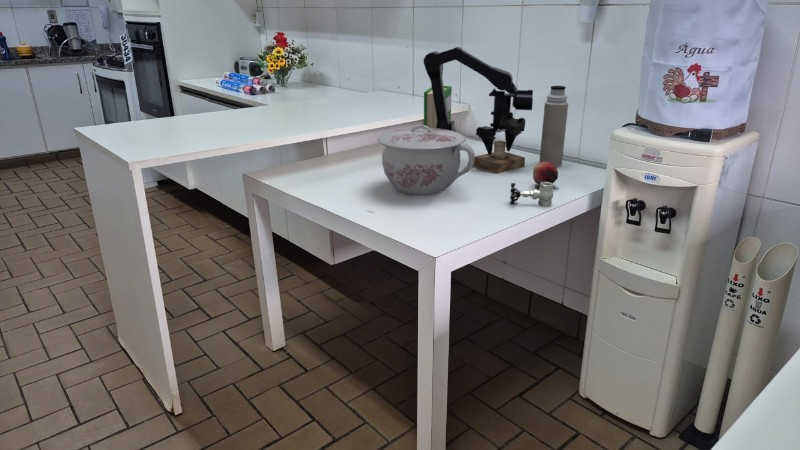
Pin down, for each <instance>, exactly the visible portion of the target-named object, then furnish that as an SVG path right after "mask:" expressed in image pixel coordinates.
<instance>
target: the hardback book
mask: <svg viewBox="0 0 800 450" xmlns="http://www.w3.org/2000/svg"><path fill="white" fill-rule="evenodd" d="M443 86H444V92H445V99H446V105H447V111H448V117H449V119H450V121H451V120H452V93H453V92H452V88H453V86H451V85H443ZM423 125H425V126H427V127H429V128H436V126H437V116H436V110H435V104H434V98H433V92H432V86H431V87H429V88H428V89H427V90H425V91H424V92H423Z"/></svg>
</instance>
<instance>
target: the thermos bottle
mask: <svg viewBox="0 0 800 450" xmlns="http://www.w3.org/2000/svg"><path fill="white" fill-rule="evenodd" d="M566 89H567V87H566V86H563V85H551V86H550V92H549V94H548V95H547V96H546V97H547V98H546V101H545V102H544V109H543V119H542V128H541V129H542V131H541V142H540V153H539V161H538V162H539V163H541V162H550V163H552V164H553V165H554V166H555V168H560V167H562V165H563V157H564V150H565V149H564V148H565V147H564V146H565V138H566V129H567V120H568V112H569V111H568V110H569V102H567V101H568V100H567V99H568V96H567V95H566V91H565V90H566ZM539 163H538V164H539Z"/></svg>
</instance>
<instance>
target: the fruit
mask: <svg viewBox="0 0 800 450" xmlns="http://www.w3.org/2000/svg"><path fill="white" fill-rule="evenodd" d="M532 178H533V181H534V183H535V184H536V185H538V187H540V184H541V183H542V182H549V183H552V184H553V185H554V183H555V182H556V181H557V180H558V178H559V171H558V169H557V167H555V166H554V165H553V164H552V163H550V162H541V163H537V164H536V165H534V167H533V172H532Z"/></svg>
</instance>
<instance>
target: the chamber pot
mask: <svg viewBox="0 0 800 450" xmlns="http://www.w3.org/2000/svg"><path fill="white" fill-rule="evenodd" d="M376 141H377V142H378V143H379V144H380V145H382V146H385V147H384V149H383V151H382V154H381V162H382V163H381V164H382V168H383V172H384V176H386V178H387V180H388V181H389V182H390V184H391V186H393V188H394V189H395V190H397V191H398V192H400V193H403V194H406V195H410V196H430V195H436V194H439V193H442V192H444V191H446V190H447V189H448V188H449V187H450V186H452V185H453V184H454V182H455V181H456V180H457V179H458V178H460V177H462V176H464V175H466V173H468V172H469V171H470V169H472V167H474V166H473V165H474V161H475V156H476V155H475V151H474V149H473V148H472V146H471V145H469V144H468V143H466V141H467V139H466V136H464V134H461V133H460V132H458V131H456V132H454V131H450V130H446V129H440V128H429V127H427V126H425V125H424V124H417V125H414V126H413V127H403V128H398V129H393V130H389V131H386V132H383V133H381V134H379V135H378V136H377V139H376ZM461 151H464V152H466V153H467V156H468V162H467V164H466V166H465V167H464V168H463V169H462V170H461V171H459V169H460V164H461Z"/></svg>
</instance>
